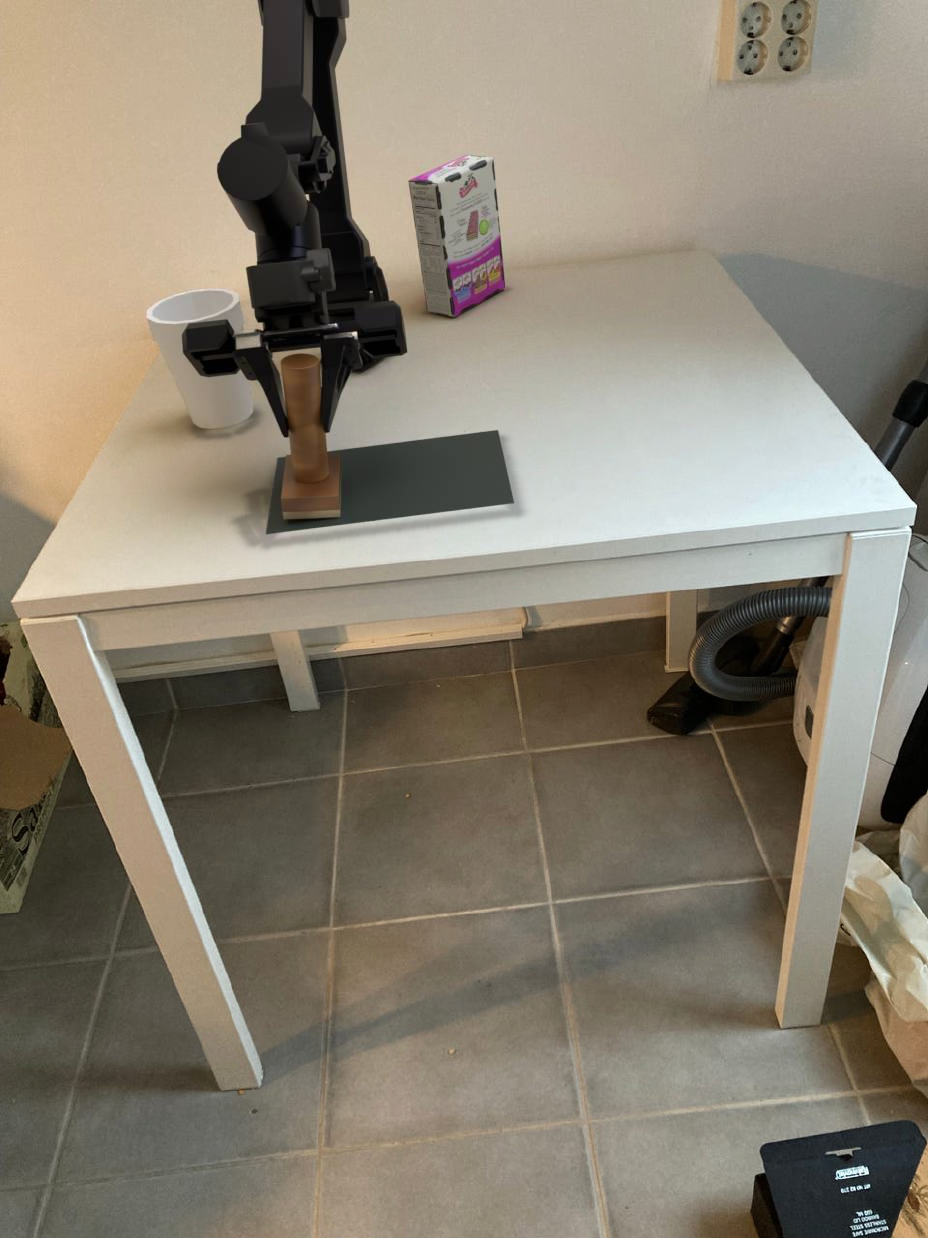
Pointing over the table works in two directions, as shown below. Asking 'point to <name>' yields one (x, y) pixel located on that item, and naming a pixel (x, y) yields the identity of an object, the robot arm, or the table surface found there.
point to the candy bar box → (458, 234)
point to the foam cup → (202, 396)
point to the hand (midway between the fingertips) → (305, 433)
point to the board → (409, 480)
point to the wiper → (307, 445)
